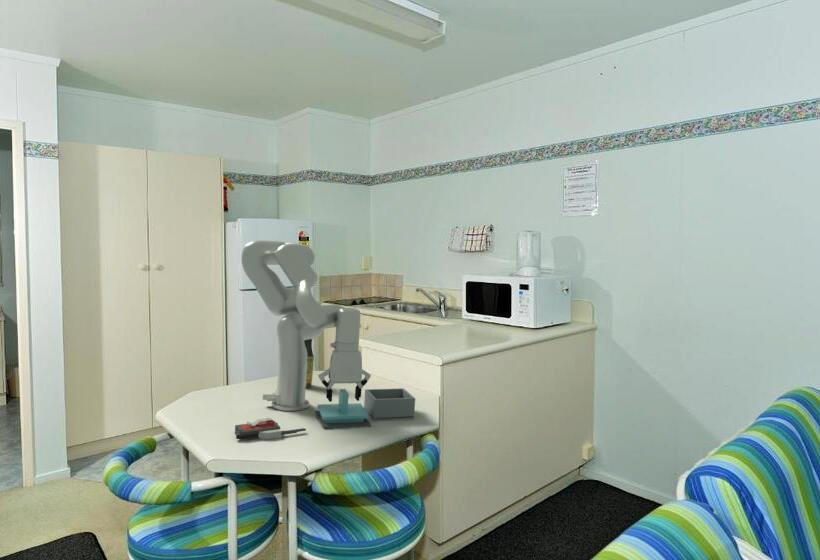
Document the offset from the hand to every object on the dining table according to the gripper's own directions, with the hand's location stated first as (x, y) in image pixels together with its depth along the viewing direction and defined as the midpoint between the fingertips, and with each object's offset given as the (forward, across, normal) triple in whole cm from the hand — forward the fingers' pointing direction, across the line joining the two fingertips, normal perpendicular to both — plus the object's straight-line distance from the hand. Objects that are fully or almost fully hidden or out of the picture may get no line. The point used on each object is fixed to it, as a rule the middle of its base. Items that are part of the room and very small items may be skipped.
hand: (343, 399), depth 173 cm
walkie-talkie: (+7, -24, -9) cm, 26 cm away
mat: (+6, 0, 0) cm, 6 cm away
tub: (+6, +16, +3) cm, 18 cm away
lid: (+6, 0, 0) cm, 6 cm away
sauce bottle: (+7, -6, +40) cm, 41 cm away
